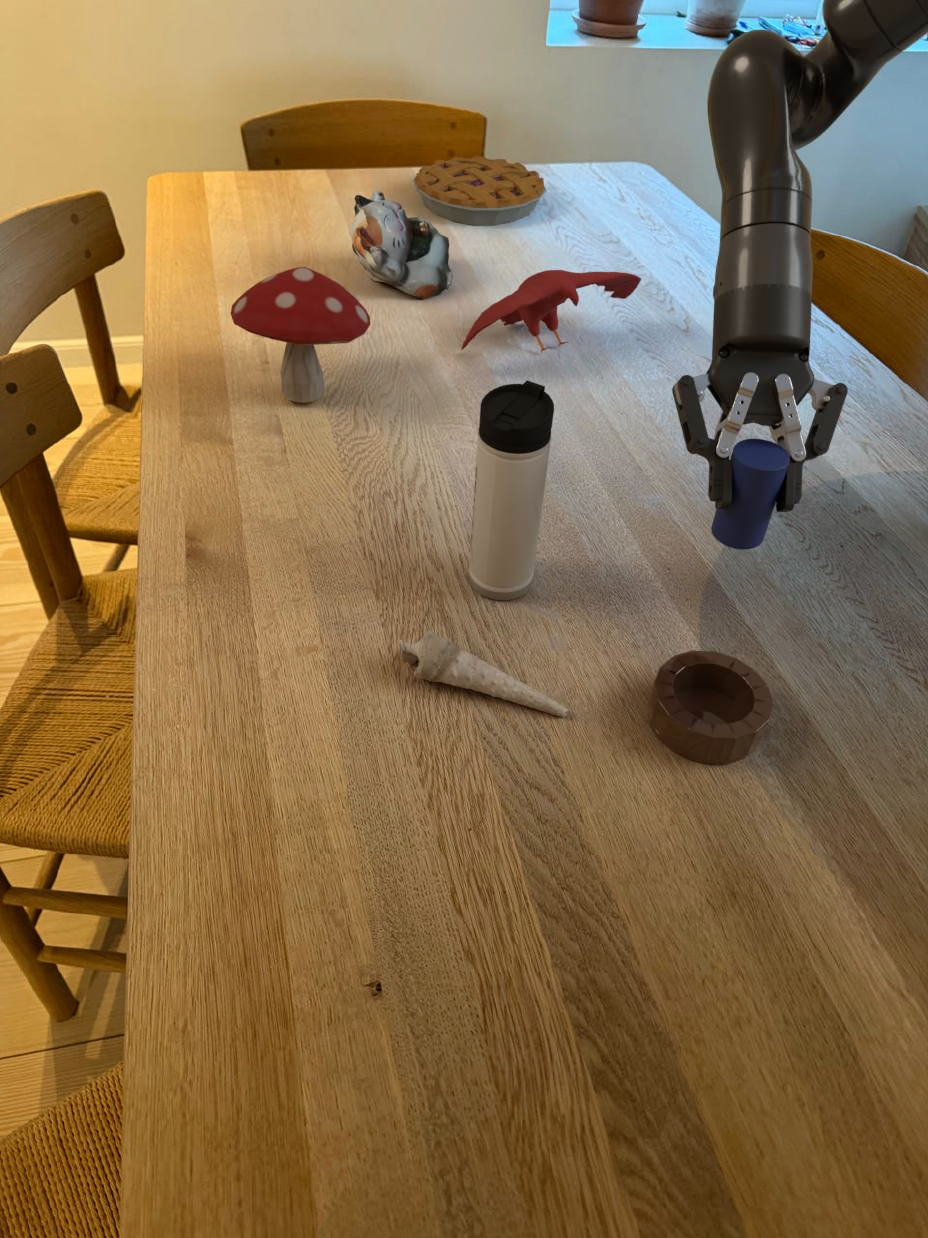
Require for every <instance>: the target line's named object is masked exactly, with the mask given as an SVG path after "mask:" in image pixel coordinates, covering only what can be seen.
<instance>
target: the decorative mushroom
mask: <svg viewBox="0 0 928 1238" xmlns="http://www.w3.org/2000/svg"><path fill="white" fill-rule="evenodd" d="M230 316H231V320H232V322H233V324H234V325H235V326H237V327H239V328H241V329H242V330H244V331H246V332H248V333H251V334H253V335H257V336H261V337H264V338H267V339H270V340H274V341H279V342H284V343H286V344H285V347H284V348H285V349H284V352H283V359H282V362H281V367H280V382H281V383H280V384H281V392H282V396H283V397H285V399H287V400H288V401H291V402H293V403H299V404H307V403H311V402H315V401H318V400H320V398H321V397H323V396H324V393H325V385H324V373H323V369H322V366H321V363H320V361H319V358H318V354H317V350H316V348H315V345H316V346H317V345H318V346H319V345H336V344H337V345H338V344H339V345H341V344H350V343H351V342H353V341H355V340H358V339H359V338H360V337H362V336H364V335H365V334H366V332H367V331H368V330H369V328H370V326H371V316H370V315H369V312H368V311H367V309H366V308H365V306H364V305H363V304H362V303H361V302H360V300H358V298H357V297H356V296H355V295H354V294H353V293H352V292H351V291H350V290H348V289H347V288H346V287H345V286H343V285H341V284H340V283H339V282H337V281H335V280H334V279H331V278H330V277H328V276H326V275H324V274H323V273H320V272H318V271H316V270H314V269H311V268H308V267H304V266H299V267H294V268H290V269H287V270H284V271H280V272H278V273H275V274H273V275H270V276H268V277H266V278H263V279H262V280H259V281H258V282H257V283H255V284H254V285H252V286H251V287H250V288H248V289H246V290H245V292H243V293H242V294H241V295H240V296H239V297H238V298H237V299H236V300H235V301H234V302H233V303H232V304H231V309H230Z"/></svg>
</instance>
